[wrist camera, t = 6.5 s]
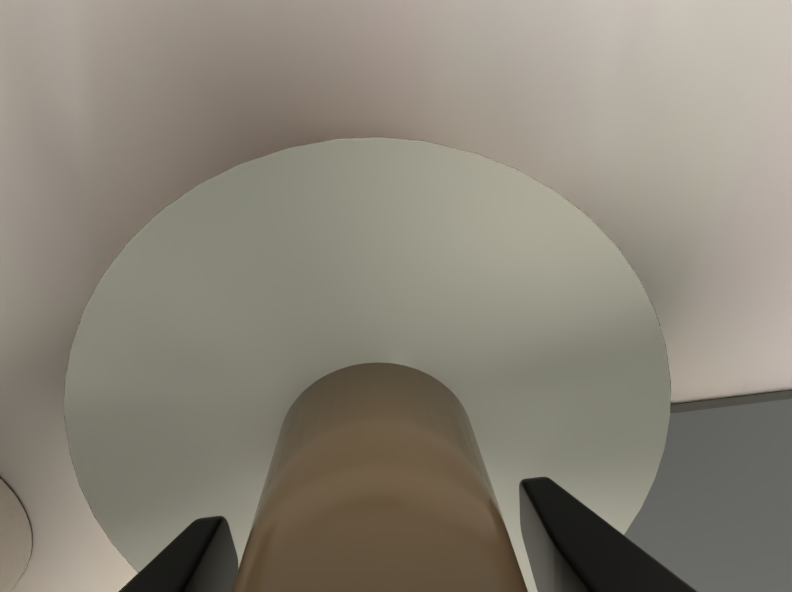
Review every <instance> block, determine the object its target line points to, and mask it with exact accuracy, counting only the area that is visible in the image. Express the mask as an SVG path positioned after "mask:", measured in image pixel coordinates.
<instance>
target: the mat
mask: <svg viewBox="0 0 792 592" xmlns="http://www.w3.org/2000/svg"><path fill="white" fill-rule="evenodd" d="M624 535H625V536H626V537H627V538H628V539H630V540H631V541H632V542H634V543H635V544H636V545H638V546H639V547H640V548H641V549H643V550H644V551H645V552H647V553H648V554H649V555H651V556H652V557H653V558H655V559H656V560H657V561H658V562H660V563H661V564H662V565H664V566H665V567H666V568H668V569H669V570H670V571H671V572H673V573H674V574H675V575H677V576H678V577H679V578H681V579H682V580H683V581H684V582H686V583H687V584H688V585H690V586H691V587H692V588H694V589H695V590H696V591H698V592H792V390H790V391H781V392H773V393H765V394H757V395H748V396H740V397H732V398H724V399H716V400H707V401H699V402H691V403H683V404H674V405H670V419H669V425H668V431H667V437H666V443H665V448H664V452H663V455H662V458H661V461H660V464H659V467H658V471H657V474H656V477H655V480H654V482H653V484H652V486H651V488H650V490H649V492H648V495H647V497H646V499H645V501H644V503H643V505H642V507H641V509H640V511H639V512H638V514H637V515H636V517H635V518H634V520H633V522H632V523H631V525H630V526H629V528H628V529H627V531H626V533H625V534H624Z"/></svg>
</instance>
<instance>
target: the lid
mask: <svg viewBox="0 0 792 592" xmlns="http://www.w3.org/2000/svg"><path fill="white" fill-rule="evenodd" d="M670 393H671V380H670V373H669V365H668V358H667V351H666V345H665V342H664V339H663V335H662V332H661V329H660V325H659V322H658V319H657V315H656V312H655V310H654V308H653V306H652V304H651V302H650V300H649V298H648V296H647V294H646V291H645V289H644V287H643V285H642V283H641V281H640V279H639V278H638V276H637V275H636V273H635V272H634V270H633V269H632V267H631V266H630V265H629V263H628V262H627V260H626V259H625V257H624V256H623V254H622V253H621V252H620V250H619V249H618V247H617V246H616V245H615V244H614V243H613V242H612V241H611V240H610V239H609V238H608V237H607V236H606V234H605V233H604V232H603V231H602V230H601V229H600V228H599V227H598V226H597V225H596V224H595V223H594V222H593V221H592V220H591V219H590V218H589V217H588V216H587V215H585V214H584V213H583V212H582V211H580V210H579V209H578V208H577V207H575V206H574V205H573V204H571V203H570V202H569V201H568V200H566V199H565V198H564V197H562V196H561V195H560V194H559V193H557V192H556V191H554V190H552V189H551V188H549V187H547V186H545V185H544V184H542V183H540V182H538V181H537V180H535V179H533V178H531V177H529V176H528V175H526V174H524V173H522V172H521V171H519V170H517V169H514V168H512V167H509V166H507V165H504V164H501V163H499V162H496V161H494V160H491V159H489V158H486V157H484V156H481V155H478V154H476V153H472V152H468V151H464V150H459V149H455V148H451V147H447V146H442V145H438V144H434V143H430V142H425V141H416V140H405V139H395V138H384V137H373V138H350V139H334V140H329V141H323V142H318V143H313V144H307V145H302V146H296V147H291V148H287V149H283V150H280V151H277V152H274V153H271V154H268V155H265V156H262V157H259V158H256V159H253V160H250V161H247V162H244V163H241V164H239V165H237V166H235V167H233V168H231V169H229V170H227V171H225V172H223V173H221V174H219V175H217V176H215V177H213V178H211V179H209V180H207V181H205V182H203V183H201V184H199V185H197V186H196V187H194V188H193V189H191V190H190V191H188V192H187V193H186V194H184V195H183V196H181V197H180V198H178V199H177V200H176V201H174V202H173V203H171V204H170V205H168V206H167V207H165V208H164V209H163V210H161V211H160V212H159V213H158V214H157V215H156V216H155V217H154V218H153V219H152V220H151V221H149V222H148V223H147V224H146V225H145V226H144V227H143V228H142V229H141V230H140V231H139V232H138V233H137V234H136V235H135V236H134V237H133V238H132V239H131V240H129V242H128V243H127V244H126V246H125V247H124V248H123V249H122V251H121V252H120V253H119V255H118V256H117V257H116V258H115V260H114V261H113V262H112V264H111V265H110V266H109V268H108V269H107V270H106V271H105V273H104V274H103V276H102V278H101V280H100V281H99V283H98V285H97V287H96V289H95V291H94V292H93V294H92V296H91V298H90V300H89V302H88V303H87V305H86V307H85V309H84V312H83V314H82V317H81V320H80V323H79V326H78V329H77V332H76V334H75V337H74V340H73V343H72V346H71V352H70V357H69V363H68V369H67V374H66V380H65V424H66V431H67V438H68V445H69V452H70V456H71V459H72V462H73V465H74V469H75V472H76V475H77V478H78V482H79V485H80V487H81V489H82V492H83V494H84V496H85V498H86V500H87V502H88V504H89V506H90V508H91V510H92V512H93V515H94V517H95V518H96V520H97V521H98V523H99V524H100V526H101V527H102V529H103V530H104V532H105V533H106V535H107V536H108V538H109V539H110V541H111V542H112V544H113V545H114V546H115V547H116V549H117V550H118V551H119V552H120V553H121V554H122V556H123V557H124V558H125V559H126V560H127V561H128V562H129V564H130V565H131V566H132V567H133V568H134V569H135V570H136V571H137V572H138V573H139V572H140V571H141V570H142V569H143V568H144V567H145V566H146V565H147V564H148V563H150V562H151V561H152V560H153V559H154V558H155V557H156V556H157V555H158V554H159V553H160V552H161V551H162V550H163V549H164V548H165V547H166V546H168V545H169V544H170V543H171V542H172V541H173V540H174V539H175V538H176V537H177V536H178V535H179V534H180V533H181V532H182V531H183V530H184V529H186V528H187V527H188V526H189V525H190V524H191V523H192V522H193V521H195V520H196V519H199V518H204V517H212V516H223V517H225V518H226V520H227V521H228V524H229V527H230V531H231V535H232V538H233V542H234V545H235V549H236V552H237V556H238V566H239V568H238V573H237V576H236V579H235V583H234V586H233V589H232V592H538V591H537V588H536V584H535V581H534V577H533V574H532V570H531V567H530V563H529V559H528V556H527V552H526V549H525V545H524V542H523V538H522V533H521V527H520V505H519V484H520V482H521V480H523V479H526V478H535V477H548V478H550V479H552V480H553V481H554V482H555V483H557V484H558V485H559V486H561V487H562V488H563V489H565V490H566V491H567V492H568V493H570V494H571V495H572V496H574V497H575V498H576V499H578V500H579V501H580V502H581V503H583V504H584V505H585V506H587V507H588V508H589V509H591V510H592V511H593V512H595V513H596V514H597V515H598V516H600V517H601V518H602V519H604V520H605V521H606V522H608V523H609V524H610V525H611V526H613V527H614V528H615V529H617V530H618V531H619V532H621V533H622V534H623V535H624V534H625V533H626V531H627V529H628V528H629V526H630V525H631V523H632V522H633V520H634V518H635V517H636V515H637V514H638V512H639V511H640V509H641V507H642V505H643V503H644V501H645V499H646V497H647V495H648V492H649V490H650V488H651V486H652V484H653V482H654V480H655V477H656V474H657V471H658V467H659V464H660V461H661V458H662V455H663V452H664V448H665V443H666V437H667V431H668V425H669V419H670Z"/></svg>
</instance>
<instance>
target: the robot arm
mask: <svg viewBox="0 0 792 592" xmlns="http://www.w3.org/2000/svg"><path fill="white" fill-rule="evenodd" d="M519 505H520V527H521V533H522V538H523V542H524V545H525V549H526V552H527V556H528V559H529V563H530V567H531V570H532V574H533V577H534V581H535V584H536V588H537V591H538V592H698V591H696V590H695V589H694V588H692V587H691V586H690V585H688V584H687V583H686V582H684V581H683V580H682V579H681V578H679V577H678V576H677V575H675V574H674V573H673V572H671V571H670V570H669V569H668V568H666V567H665V566H664V565H662V564H661V563H660V562H658V561H657V560H656V559H655V558H653V557H652V556H651V555H649V554H648V553H647V552H645V551H644V550H643V549H641V548H640V547H639V546H638V545H636V544H635V543H634V542H632V541H631V540H630V539H628V538H627V537H626V536H625V535H623V534H622V533H621V532H619V531H618V530H617V529H615V528H614V527H613V526H611V525H610V524H609V523H608V522H606V521H605V520H604V519H602V518H601V517H600V516H598V515H597V514H596V513H595V512H593V511H592V510H591V509H589V508H588V507H587V506H585V505H584V504H583V503H581V502H580V501H579V500H578V499H576V498H575V497H574V496H572V495H571V494H570V493H568V492H567V491H566V490H565V489H563V488H562V487H561V486H559V485H558V484H557V483H555V482H554V481H553V480H552V479H550V478H548V477H535V478H526V479H523V480H521V482H520V484H519ZM238 568H239V566H238V556H237V552H236V549H235V545H234V542H233V538H232V535H231V531H230V527H229V524H228V521H227V520H226V518H225V517H223V516H212V517H204V518H199V519H196V520H195V521H193V522H192V523H191V524H190V525H189V526H188V527H187V528H186V529H184V530H183V531H182V532H181V533H180V534H179V535H178V536H177V537H176V538H175V539H174V540H173V541H172V542H171V543H170V544H169V545H168V546H166V547H165V548H164V549H163V550H162V551H161V552H160V553H159V554H158V555H157V556H156V557H155V558H154V559H153V560H152V561H151V562H150V563H148V564H147V565H146V566H145V567H144V568H143V569H142V570H141V571H140V572H139V573H138V574H137V575H136V576H135V577H134V578H133V579H132V580H130V581H129V582H128V583H127V584H126V585H125V586H124V587H123V588H122V589H121V590H120V591H119V592H232V589H233V586H234V583H235V579H236V576H237V573H238Z"/></svg>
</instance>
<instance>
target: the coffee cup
mask: <svg viewBox="0 0 792 592" xmlns="http://www.w3.org/2000/svg"><path fill="white" fill-rule="evenodd" d="M31 551H32V533H31V528H30V524H29V521H28V518H27V515H26V513H25V511H24V509H23V507H22V505H21V503H20V502H19V500H18V499H17V497H16V496H15V494H14V493H13V492H12V491H11V489H10V488H9V487H8V486H7V485H6V484H5V483H4V482H3V481H2V480H1V479H0V592H11V591H12V589H13V588H14V586H15V585H16V583H17V582H18V580H19V579H20V577H21V575H22V574H23V572H24V571H25V569H26V567H27V565H28V562H29V559H30V556H31Z"/></svg>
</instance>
